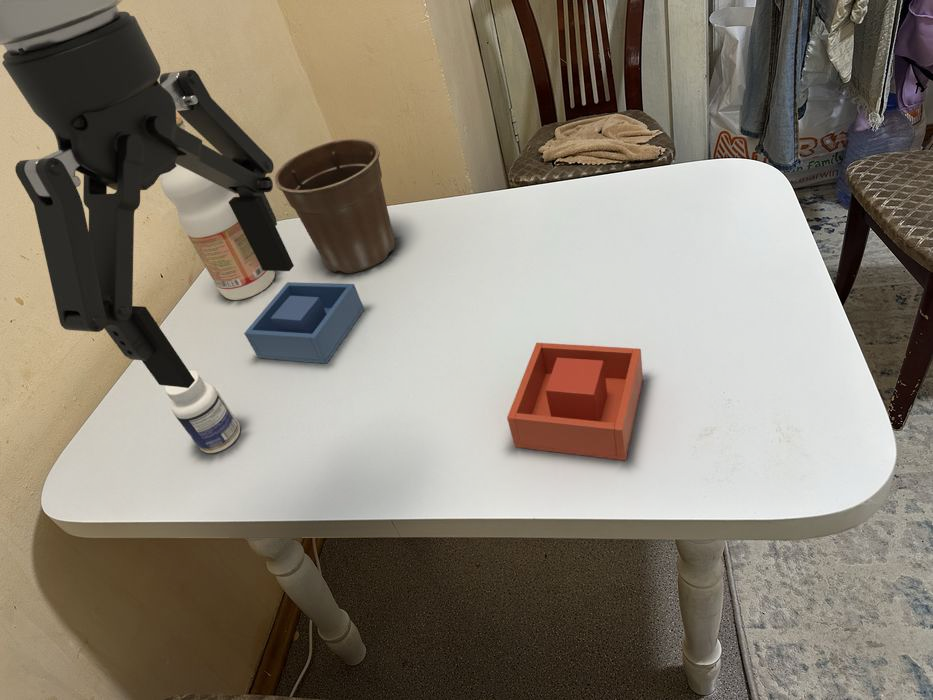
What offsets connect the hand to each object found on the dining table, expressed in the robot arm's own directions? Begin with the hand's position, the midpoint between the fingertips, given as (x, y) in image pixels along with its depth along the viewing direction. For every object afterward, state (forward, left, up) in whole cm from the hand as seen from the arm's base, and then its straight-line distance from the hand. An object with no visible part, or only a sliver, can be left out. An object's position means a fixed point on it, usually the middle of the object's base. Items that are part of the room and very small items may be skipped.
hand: (232, 320), depth 50 cm
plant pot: (-23, +48, -27) cm, 60 cm away
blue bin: (-21, +28, -27) cm, 44 cm away
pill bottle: (-23, +8, -27) cm, 36 cm away
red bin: (+20, +18, -27) cm, 38 cm away
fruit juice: (-40, +39, -27) cm, 62 cm away
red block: (+20, +18, -26) cm, 38 cm away
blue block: (-21, +27, -26) cm, 43 cm away
